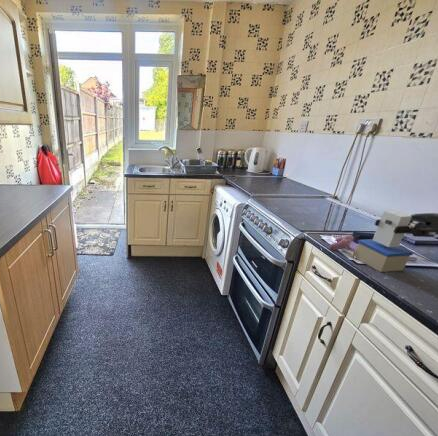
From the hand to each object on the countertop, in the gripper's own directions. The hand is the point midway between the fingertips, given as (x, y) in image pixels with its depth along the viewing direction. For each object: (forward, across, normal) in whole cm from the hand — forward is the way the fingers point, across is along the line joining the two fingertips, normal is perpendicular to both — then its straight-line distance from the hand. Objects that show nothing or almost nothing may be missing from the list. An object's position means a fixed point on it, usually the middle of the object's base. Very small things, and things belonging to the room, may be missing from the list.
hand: (386, 226), depth 82 cm
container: (-2, 0, +14) cm, 15 cm away
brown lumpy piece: (+1, -12, +15) cm, 19 cm away
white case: (-3, 0, +6) cm, 7 cm away
